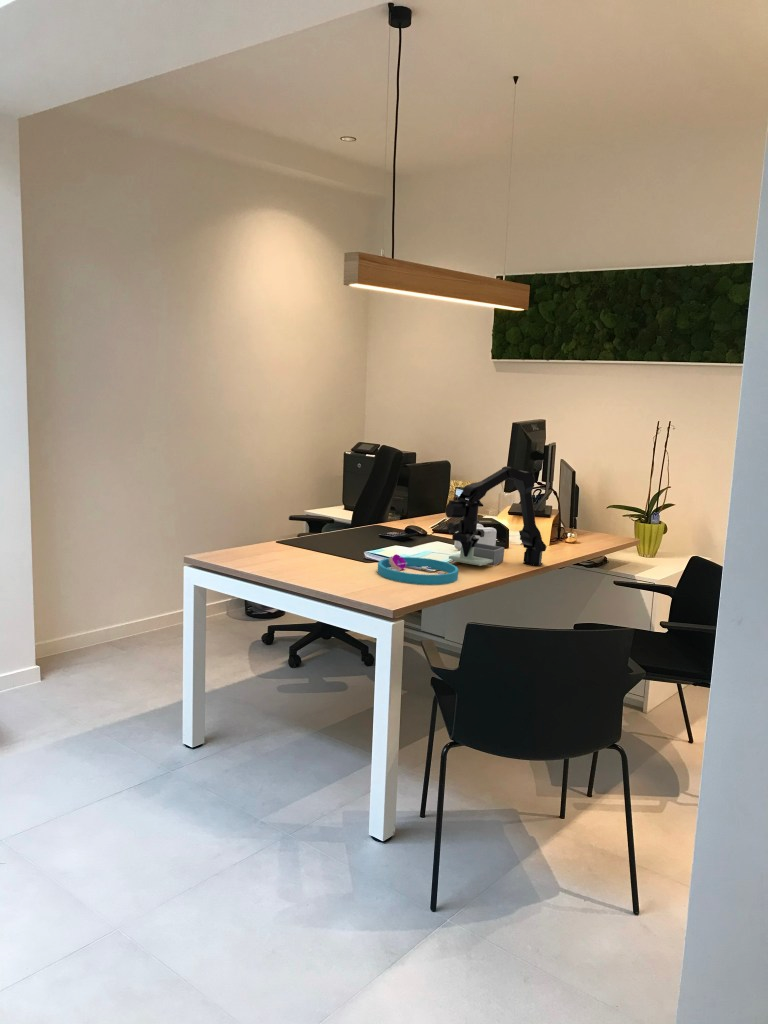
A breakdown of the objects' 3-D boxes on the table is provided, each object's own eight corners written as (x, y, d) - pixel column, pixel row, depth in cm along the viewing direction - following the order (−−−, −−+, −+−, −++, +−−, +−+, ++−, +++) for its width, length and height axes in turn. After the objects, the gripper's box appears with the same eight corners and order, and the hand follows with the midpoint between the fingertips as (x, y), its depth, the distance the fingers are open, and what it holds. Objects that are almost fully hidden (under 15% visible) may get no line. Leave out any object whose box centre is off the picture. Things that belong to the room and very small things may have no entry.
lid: (492, 564, 332) (494, 547, 331) (481, 566, 322) (483, 549, 321) (459, 558, 339) (461, 541, 338) (448, 560, 329) (450, 543, 328)
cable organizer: (481, 549, 368) (483, 523, 366) (495, 554, 359) (498, 527, 357) (453, 550, 360) (455, 524, 359) (467, 555, 351) (469, 528, 350)
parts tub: (503, 561, 343) (504, 547, 342) (493, 565, 334) (494, 551, 333) (472, 556, 350) (473, 542, 349) (461, 560, 340) (463, 545, 339)
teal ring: (406, 563, 328) (407, 548, 327) (472, 577, 311) (473, 562, 311) (361, 574, 304) (362, 558, 303) (430, 590, 287) (431, 573, 286)
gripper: (461, 512, 335) (457, 549, 338) (441, 517, 319) (438, 556, 322) (486, 516, 330) (482, 554, 333) (467, 521, 314) (464, 561, 316)
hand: (466, 556), depth 326 cm, fingers closed on lid
